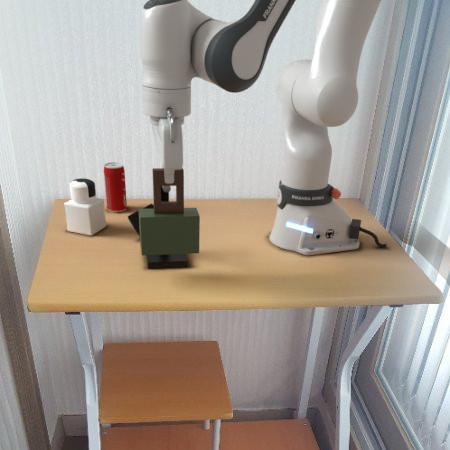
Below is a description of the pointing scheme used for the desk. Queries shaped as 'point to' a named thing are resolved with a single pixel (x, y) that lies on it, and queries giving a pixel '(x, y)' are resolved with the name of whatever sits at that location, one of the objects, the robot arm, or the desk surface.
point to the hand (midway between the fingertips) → (168, 180)
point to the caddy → (169, 221)
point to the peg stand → (168, 259)
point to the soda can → (115, 187)
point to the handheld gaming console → (135, 219)
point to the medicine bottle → (84, 208)
